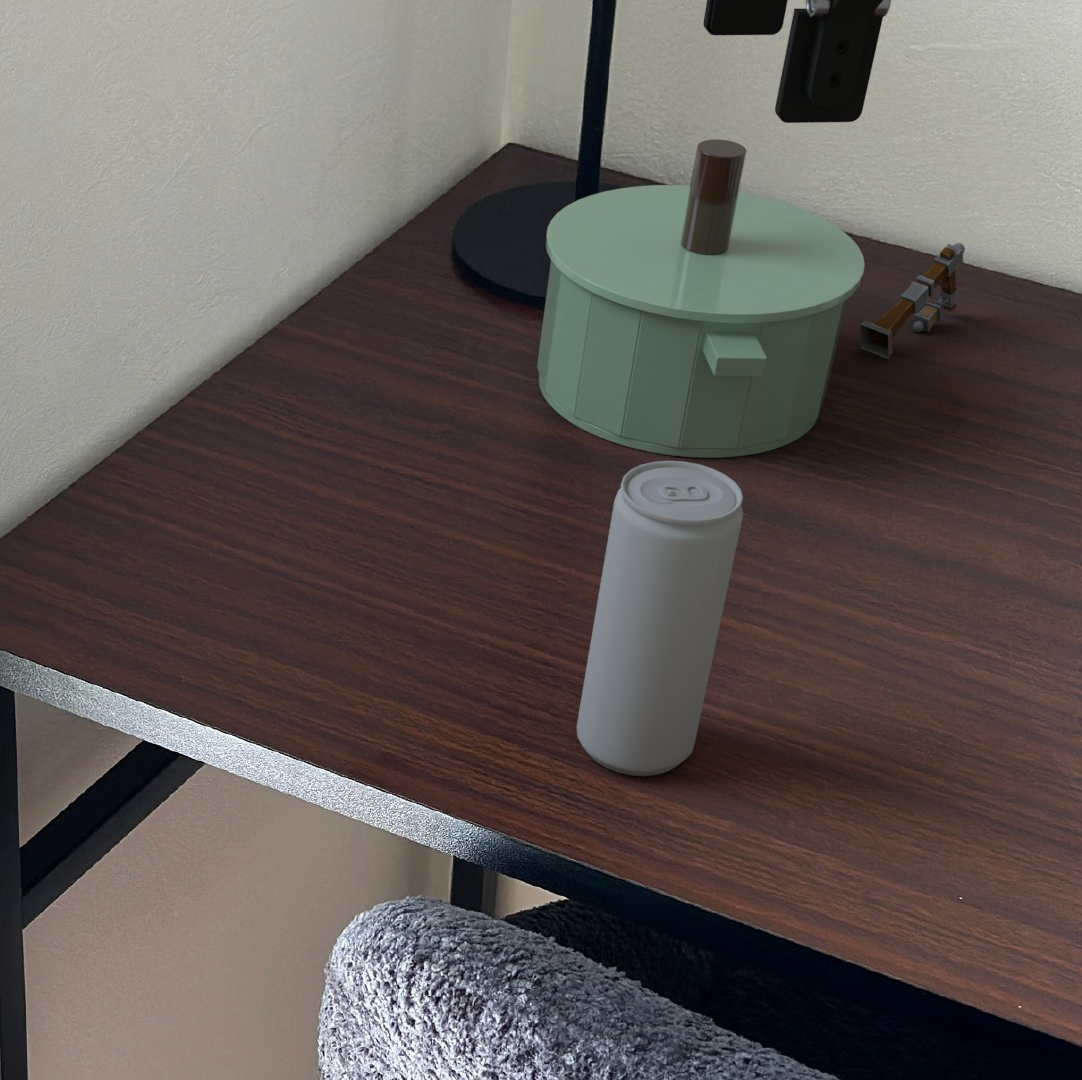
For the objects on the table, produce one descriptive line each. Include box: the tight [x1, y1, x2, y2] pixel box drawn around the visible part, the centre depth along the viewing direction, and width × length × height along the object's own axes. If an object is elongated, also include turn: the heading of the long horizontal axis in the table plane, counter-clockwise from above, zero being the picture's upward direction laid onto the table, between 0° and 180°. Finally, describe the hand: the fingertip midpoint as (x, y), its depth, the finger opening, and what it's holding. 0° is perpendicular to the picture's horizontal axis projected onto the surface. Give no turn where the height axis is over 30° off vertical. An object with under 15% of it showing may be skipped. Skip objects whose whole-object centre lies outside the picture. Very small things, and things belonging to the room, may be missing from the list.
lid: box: [545, 138, 866, 323], centre depth 105 cm, size 16×16×6 cm
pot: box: [536, 260, 848, 459], centre depth 109 cm, size 15×20×8 cm
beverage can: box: [576, 460, 744, 777], centre depth 83 cm, size 5×5×12 cm
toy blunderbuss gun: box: [859, 242, 966, 360], centre depth 117 cm, size 2×8×4 cm, turn 133°
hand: (777, 74), depth 83 cm, fingers open, 9 cm apart
